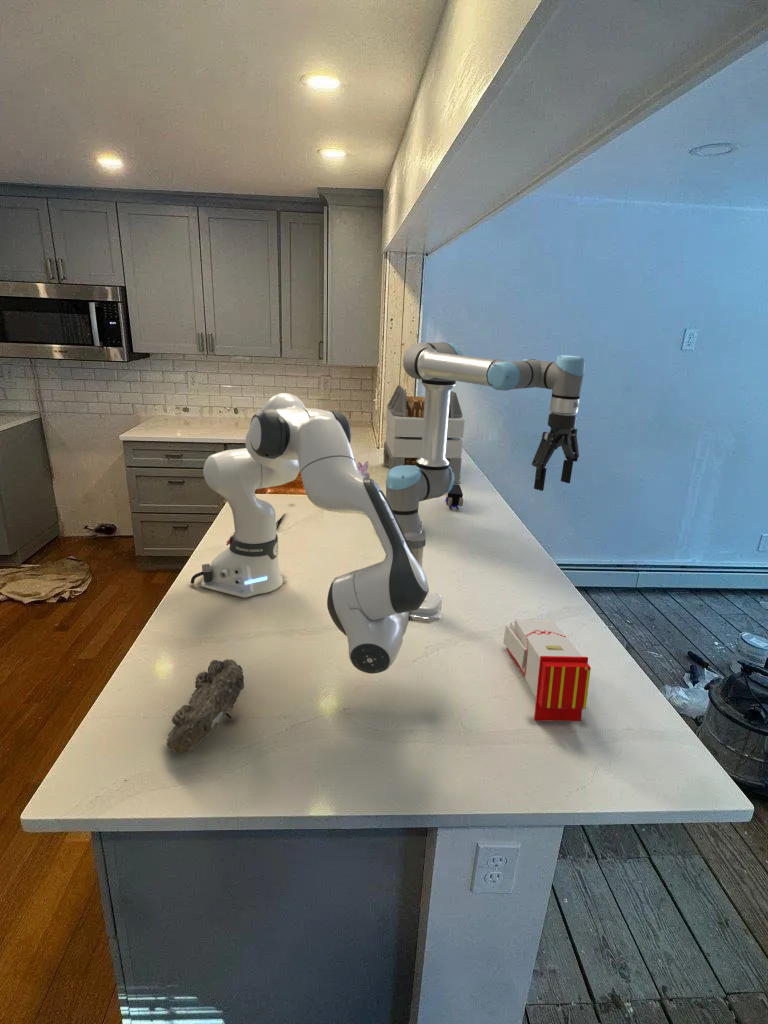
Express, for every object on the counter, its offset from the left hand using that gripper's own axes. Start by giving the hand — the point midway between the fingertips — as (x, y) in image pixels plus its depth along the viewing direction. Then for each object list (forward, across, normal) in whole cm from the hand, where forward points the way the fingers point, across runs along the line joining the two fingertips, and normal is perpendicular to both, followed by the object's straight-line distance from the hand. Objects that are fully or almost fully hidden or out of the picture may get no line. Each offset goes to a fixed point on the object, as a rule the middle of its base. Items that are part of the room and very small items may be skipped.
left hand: (399, 585), depth 126 cm
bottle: (+23, 0, +17) cm, 29 cm away
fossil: (-31, +30, +17) cm, 46 cm away
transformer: (+152, +16, +16) cm, 154 cm away
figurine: (+108, +33, +16) cm, 114 cm away
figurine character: (+108, -4, +16) cm, 109 cm away
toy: (-2, -32, +17) cm, 36 cm away
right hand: (+54, -36, -11) cm, 65 cm away
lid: (+23, 0, -2) cm, 23 cm away
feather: (+75, +56, +16) cm, 95 cm away
